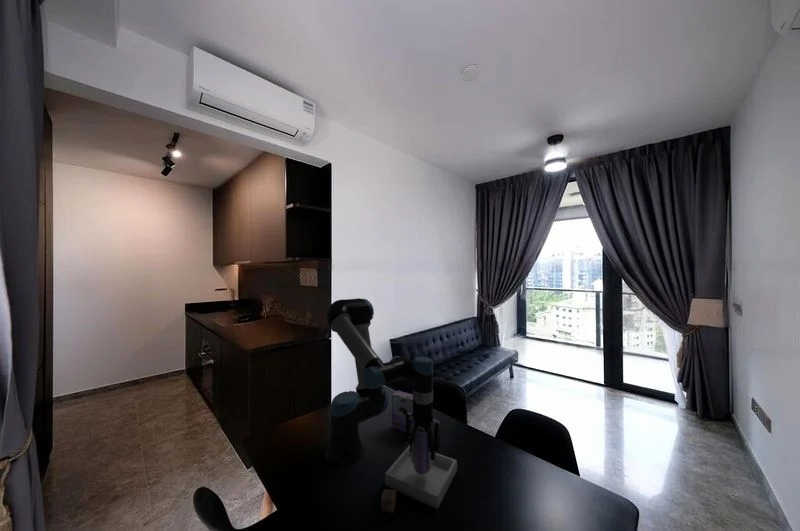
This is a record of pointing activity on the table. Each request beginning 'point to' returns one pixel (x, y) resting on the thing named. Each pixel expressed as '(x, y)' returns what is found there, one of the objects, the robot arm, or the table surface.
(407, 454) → the bin
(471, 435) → the table surface
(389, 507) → the oak block
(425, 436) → the beverage can
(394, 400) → the candy box
